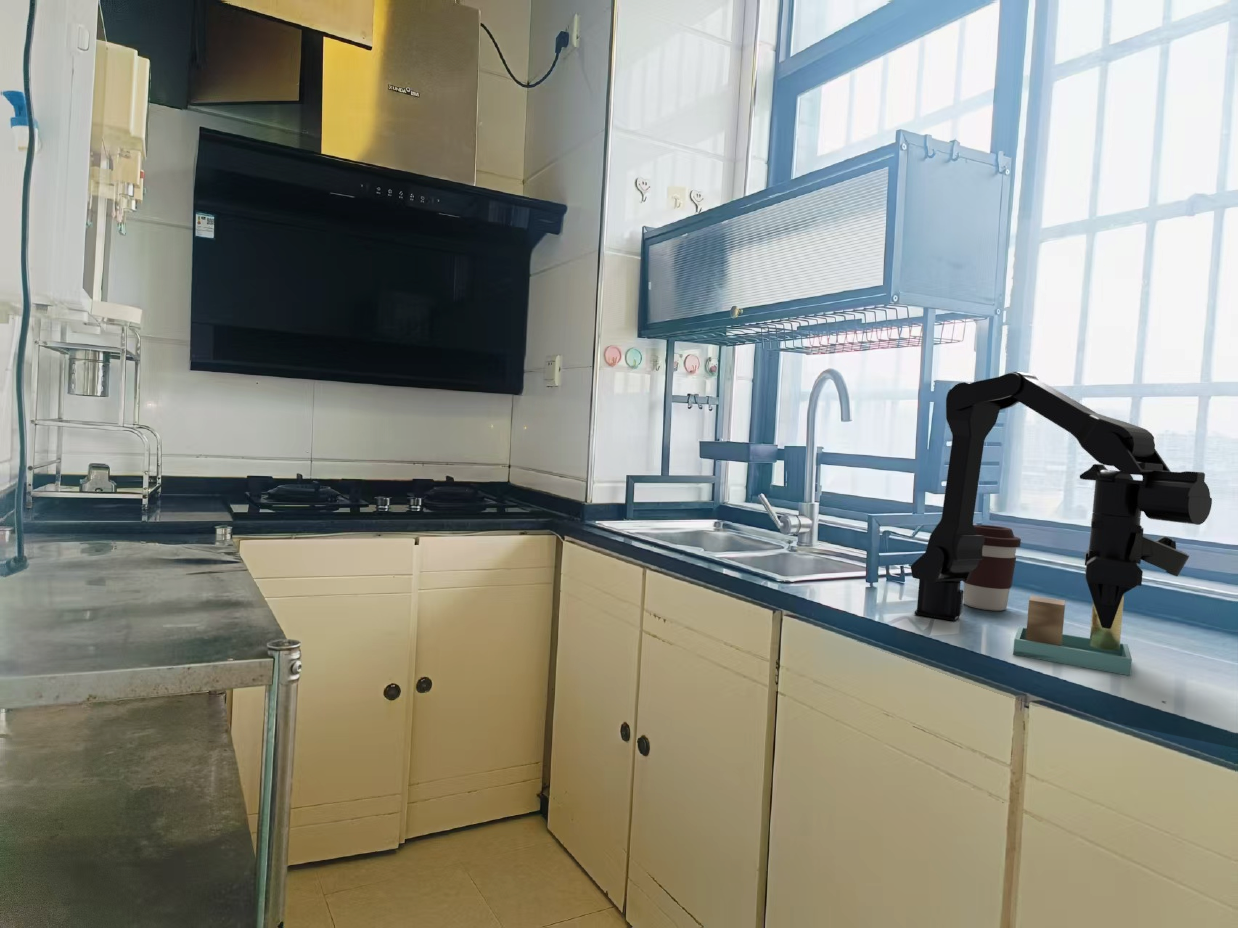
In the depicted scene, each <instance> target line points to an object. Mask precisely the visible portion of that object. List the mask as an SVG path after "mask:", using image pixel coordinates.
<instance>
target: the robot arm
mask: <svg viewBox="0 0 1238 928" xmlns="http://www.w3.org/2000/svg"><path fill="white" fill-rule="evenodd" d="M1019 403H1021V404H1022V405H1024V406H1025V407H1027V408H1029V409H1030V410H1032V411H1034V412H1036V413H1037V414H1039V415H1040V416H1041V417H1044V418H1045V419H1047V420H1048V421H1050V422H1052V423H1053V424H1055V425H1056V426H1058V427H1059V428H1062V429H1063V430H1064V431H1066V432H1068V433H1070V434H1071V435H1072V436H1073V437H1074V438H1075V439H1076V440H1077V442H1078V444H1079V445H1080V447H1081V448H1082V449H1083V450H1084V451H1085V452H1086V453H1088V454H1089V455H1090V456H1091V457H1092V458H1093V459H1094V460H1095V461H1096V462H1098V463H1094V464H1092V465H1091V467H1090V468H1088V469H1087V470H1085V471H1084V472H1082V473H1080V475H1079V479H1080V480H1085V481H1094V482H1095V484H1094V491H1093V494H1094V495H1093V504H1092V514H1091V521H1090V537H1089V545H1088V550H1086V551H1085V556H1084V557H1085V558H1084V566H1085V571H1084V572H1085V581H1086V584H1087V586H1088V590H1089V593H1090V596H1091V598H1092V603H1093V602H1094V605H1095V608H1096V611H1097V614H1098V617H1099V620H1100V624H1101V626H1102V628H1107V629H1110V628H1111V627H1112V624H1113V621H1114V619H1115V616H1116V613H1117V610H1118V607H1119V605H1120V602H1121V599H1122V597H1123V596H1125V595H1124V594H1126V593H1128V592H1130V591H1132V589H1135V588H1137V587H1138V586H1140V587H1141V586H1142V585H1143V584H1142V583H1143V573H1144V572H1143V569H1142V568H1141V567H1140V566H1139V565H1140V564H1141V563H1142V562H1141V561H1144V562H1145V563H1147V564H1150V565H1152V566H1154V567H1157V568H1158V569H1162V570H1164V571H1165V572H1166V573H1167V574H1169V575H1172V576H1174V577H1179V575H1180V574H1181V571H1182V570H1183V569H1184V566H1185V565H1186V564H1187V562H1188V560H1189V558H1190V555H1188V554H1187V553H1186V552H1184V551H1182V550H1180V549H1177V541H1176V540H1175V539H1172V538H1170V537H1167V536H1165V535H1162V536H1161V537H1159V538H1158V539H1153V538H1151V537H1149V536H1146V535H1144V527H1143V526H1142V525H1141V520H1142V519H1141V518H1142V512H1143V513H1144V516H1146V517H1147V519H1149V520H1153V521H1154V520H1155V521H1161V522H1162V521H1163V522H1171V523H1181V524H1188V525H1195V526H1197V525H1202V524H1204V522H1206V520H1207V519H1208V517H1209V515H1210V513H1211V510H1212V506H1213V505H1212V504H1213V499H1212V497H1211V491H1210V488H1209V486H1208V484H1207V483H1206V482H1205V478H1206V474H1205V472H1201V471H1187V470H1186V471H1181V472H1179V471H1171V470H1170V467H1168V466H1167V464H1166V463H1165V461H1164V459H1162V456H1161V455H1160V453H1158V451H1157V450H1156V443H1155V437H1154V435H1153V434H1152V433H1151V432H1150V431H1149V430H1147V429H1145V428H1143V427H1140V426H1138V425H1135V424H1132V423H1129V422H1127V421H1124V420H1120V419H1118V418H1117V419H1116V418H1113V417H1110V416H1106V415H1104V414H1100V413H1098V412H1095V410H1093V409H1090V408H1089V407H1087V406H1086V405H1083V404H1082V403H1080V402H1079V401H1076V400H1075V399H1073V398H1071V397H1070V396H1068V395H1066V394H1064V393H1063V392H1061V391H1059V390H1057V389H1056V388H1054V387H1052V386H1051V385H1048V384H1047V383H1046V382H1043V381H1042V380H1039V379H1038V377H1036V376H1035V375H1034V374H1031V373H1026V372H1020V371H1011V372H1008V373H1005V374H1003V375H1000V376H995V377H992V378H986V379H982V380H977V381H974V382H959V383H957V384H954V385H953V387H952V388H950V389H949V390H948V392H947V395H946V398H945V419H946V422H947V424H948V427H949V429H950V433H951V437H952V438H951V439H952V440H951V444H950V446H951V447H950V451H949V452H950V454H949V461H948V468H947V475H946V481H945V482H946V484H945V489H944V490H945V491H944V497H943V505H942V511H941V519H940V521H939V522H938V523H937V525H936V526H935V528H934V529H933V530H932V532H931V533H930V535H929V538H928V541H927V545H926V549H925V552H923V554H922V555H921V556H920V557H918V558H917V559H916V560H915V561H914V562H913V563H912V564H911V565H910V571H911V575H912V578H913V579H915V580H918V581H919V582H918V592H917V604H916V606H917V607H916V610H914V615H918V616H924V617H930V618H936V619H940V620H946V621H954V622H955V621H956V620H957V618H958V617H960V616H961V615H962V614H963V603H964V589H961V583H962V582H963V581H968V579H969V577H970V575H971V572H972V570H974V569H975V568H976V567H977V566H978V563H979V560H982V559H983V556H982V548H983V545H984V541H985V537H984V536H983V535H977V533H976V531H975V528H974V526H973V525H974V518H975V517H974V516H975V509H976V501H977V495H978V489H979V488H978V487H979V482H980V481H979V480H980V474H981V466H982V459H983V454H984V453H983V452H984V445H985V440H986V437H987V436H988V435H989V433H990V432H991V431H992V429H993V428H994V426H995V425H996V423H997V420H998V417H999V414H1000V411H1003V410H1005V409H1009V408H1012V407H1014V406H1016V405H1017V404H1019ZM1106 466H1109V467H1110V466H1111V467H1114V468H1116V469H1117V470H1112V469H1110V470H1109V469H1108V468H1107V467H1106ZM1132 475H1136V476H1142V480H1141V479H1134V477H1133V476H1132Z"/></svg>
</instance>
